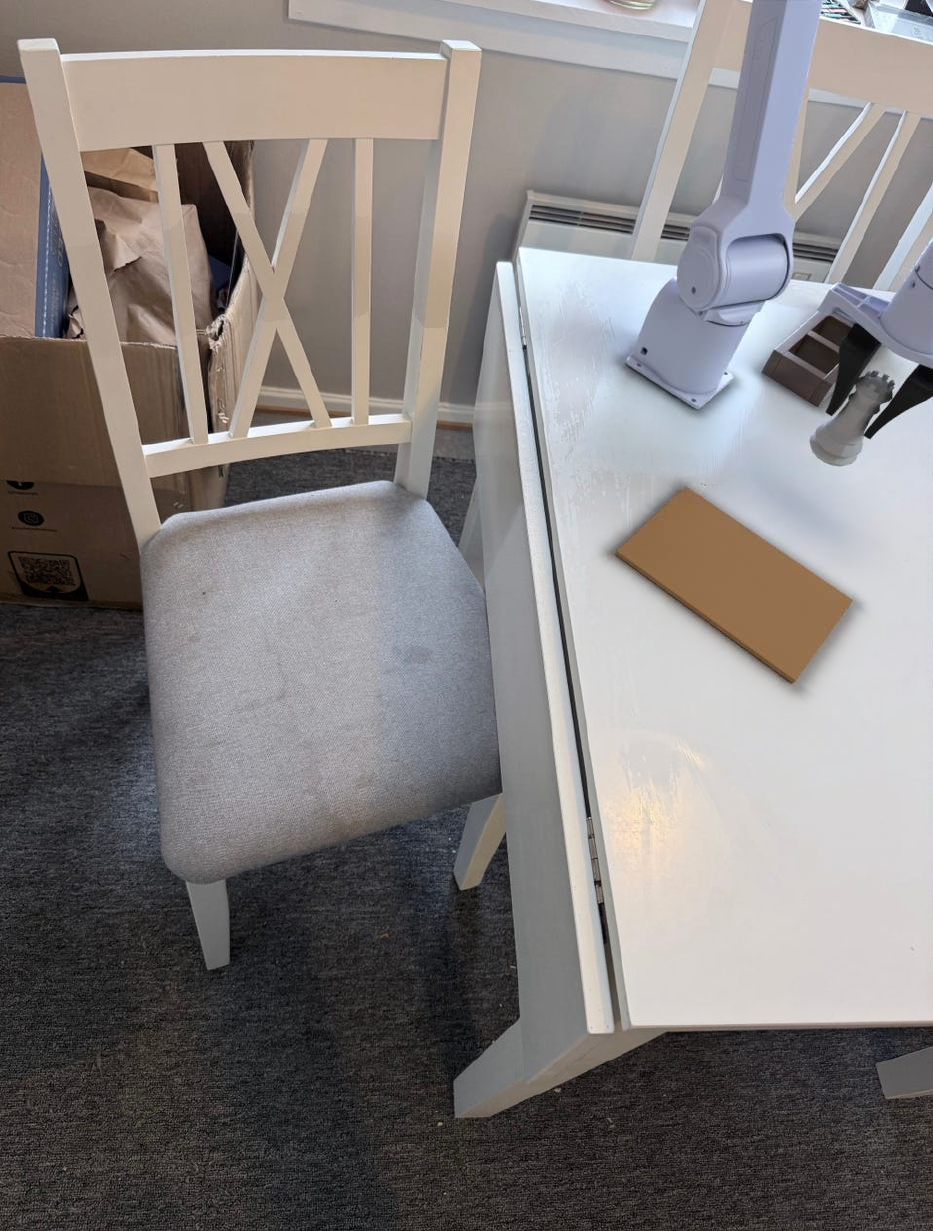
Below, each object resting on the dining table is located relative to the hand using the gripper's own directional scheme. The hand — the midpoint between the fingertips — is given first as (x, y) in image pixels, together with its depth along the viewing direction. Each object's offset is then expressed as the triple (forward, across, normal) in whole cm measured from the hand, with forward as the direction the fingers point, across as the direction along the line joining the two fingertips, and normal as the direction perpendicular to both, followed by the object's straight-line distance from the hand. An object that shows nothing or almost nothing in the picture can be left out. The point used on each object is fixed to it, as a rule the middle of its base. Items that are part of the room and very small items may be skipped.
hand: (851, 421), depth 73 cm
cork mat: (+10, 0, +13) cm, 17 cm away
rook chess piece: (+4, 0, 0) cm, 4 cm away
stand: (+10, +8, -26) cm, 29 cm away
